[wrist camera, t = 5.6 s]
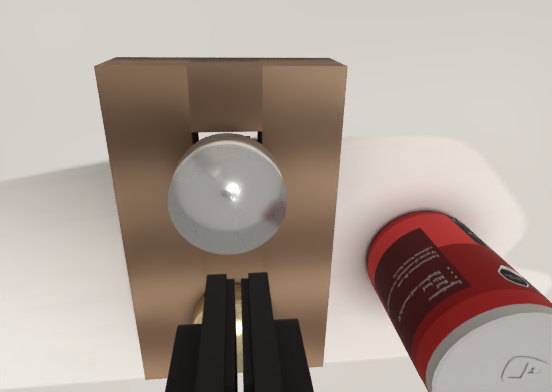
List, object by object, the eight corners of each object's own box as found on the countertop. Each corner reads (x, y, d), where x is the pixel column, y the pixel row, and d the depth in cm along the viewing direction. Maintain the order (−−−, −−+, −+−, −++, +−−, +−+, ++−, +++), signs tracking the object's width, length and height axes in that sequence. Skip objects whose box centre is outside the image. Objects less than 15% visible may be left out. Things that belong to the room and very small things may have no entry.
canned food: (466, 285, 32) (574, 409, 22) (366, 304, 32) (430, 439, 22) (471, 197, 29) (600, 297, 19) (360, 218, 28) (431, 331, 18)
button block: (115, 57, 22) (94, 66, 19) (329, 58, 24) (347, 66, 20) (155, 336, 31) (145, 379, 27) (312, 326, 32) (322, 366, 28)
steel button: (178, 113, 21) (161, 148, 16) (273, 112, 22) (288, 146, 16) (186, 199, 23) (173, 257, 18) (272, 197, 24) (285, 252, 18)
